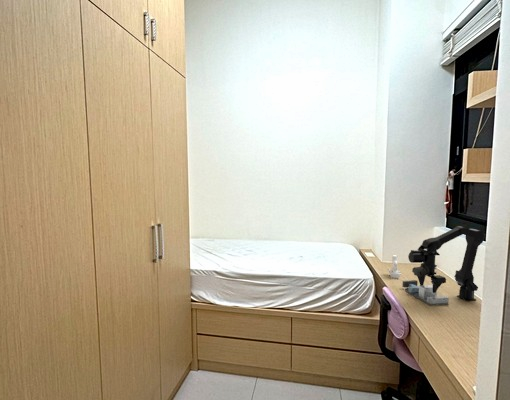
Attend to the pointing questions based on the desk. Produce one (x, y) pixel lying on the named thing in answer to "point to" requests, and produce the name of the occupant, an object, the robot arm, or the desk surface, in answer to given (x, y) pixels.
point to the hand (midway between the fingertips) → (427, 289)
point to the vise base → (416, 294)
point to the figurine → (394, 268)
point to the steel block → (426, 291)
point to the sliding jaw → (411, 285)
